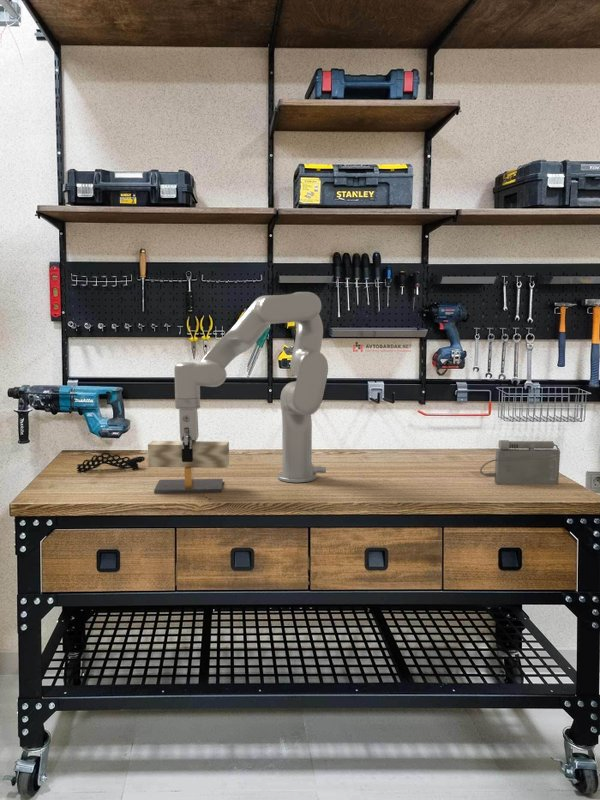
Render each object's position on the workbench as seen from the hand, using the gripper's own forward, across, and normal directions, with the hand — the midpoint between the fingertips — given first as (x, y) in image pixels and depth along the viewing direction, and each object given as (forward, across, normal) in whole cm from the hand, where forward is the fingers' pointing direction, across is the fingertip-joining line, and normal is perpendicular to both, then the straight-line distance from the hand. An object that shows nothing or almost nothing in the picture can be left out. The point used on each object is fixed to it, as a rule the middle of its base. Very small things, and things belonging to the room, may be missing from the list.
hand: (188, 458), depth 209 cm
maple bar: (+2, 0, 0) cm, 2 cm away
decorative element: (+10, +24, +29) cm, 39 cm away
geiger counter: (+10, -2, -104) cm, 104 cm away
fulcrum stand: (+9, 0, 0) cm, 9 cm away
